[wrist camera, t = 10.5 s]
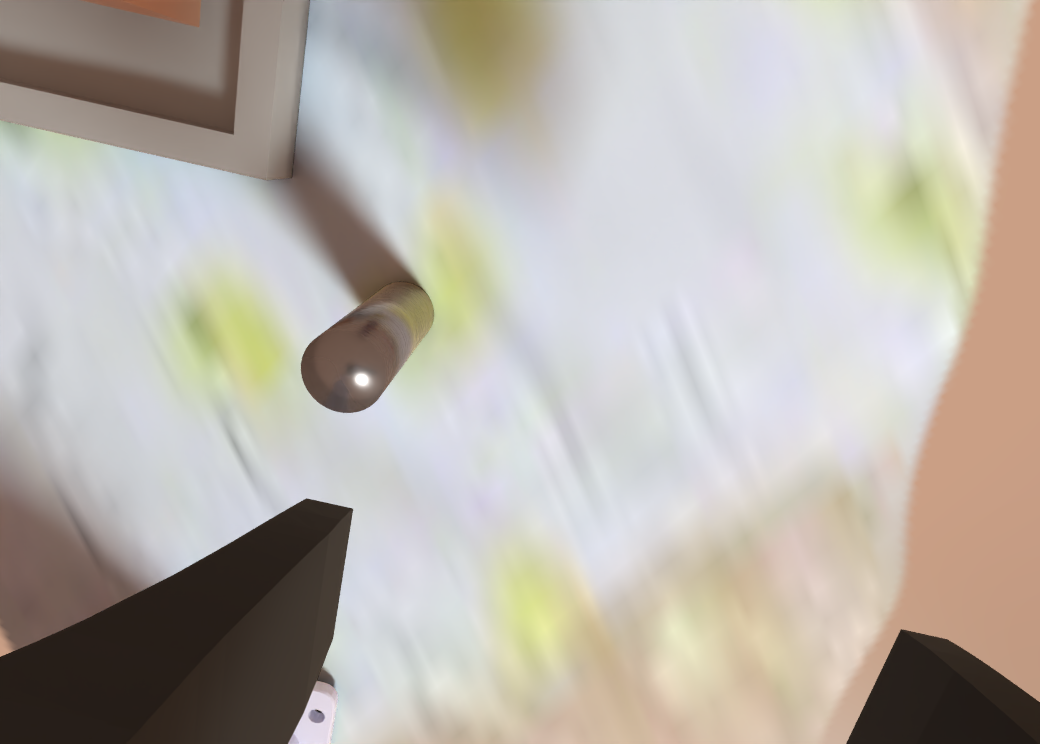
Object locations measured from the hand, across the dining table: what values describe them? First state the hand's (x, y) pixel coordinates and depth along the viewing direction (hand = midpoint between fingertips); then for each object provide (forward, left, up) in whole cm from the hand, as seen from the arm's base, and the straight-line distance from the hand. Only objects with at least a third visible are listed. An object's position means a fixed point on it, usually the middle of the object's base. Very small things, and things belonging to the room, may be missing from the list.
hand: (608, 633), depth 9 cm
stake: (+1, +5, -9) cm, 11 cm away
